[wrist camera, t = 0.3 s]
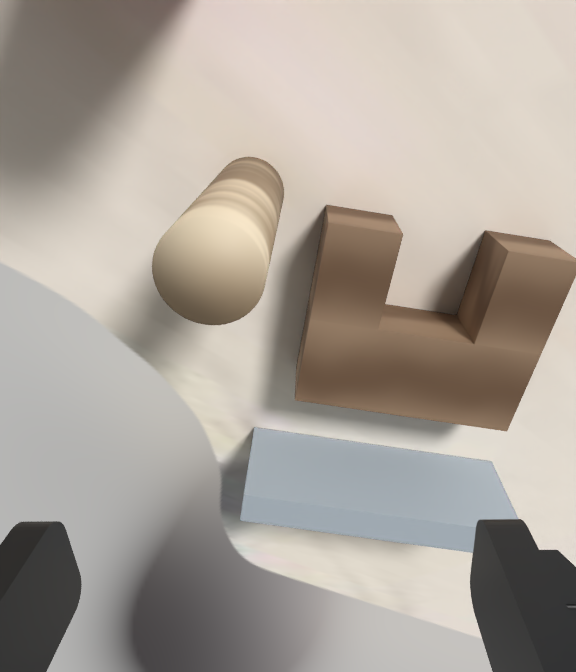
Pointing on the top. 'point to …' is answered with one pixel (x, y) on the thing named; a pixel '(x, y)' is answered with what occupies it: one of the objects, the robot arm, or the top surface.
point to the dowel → (222, 245)
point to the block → (426, 326)
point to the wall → (370, 490)
